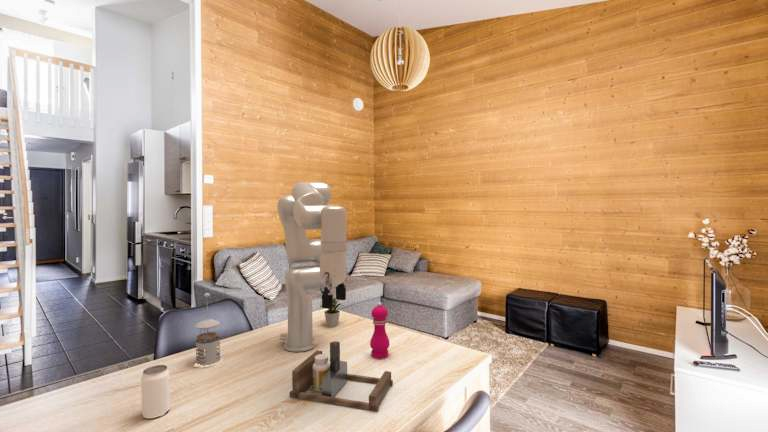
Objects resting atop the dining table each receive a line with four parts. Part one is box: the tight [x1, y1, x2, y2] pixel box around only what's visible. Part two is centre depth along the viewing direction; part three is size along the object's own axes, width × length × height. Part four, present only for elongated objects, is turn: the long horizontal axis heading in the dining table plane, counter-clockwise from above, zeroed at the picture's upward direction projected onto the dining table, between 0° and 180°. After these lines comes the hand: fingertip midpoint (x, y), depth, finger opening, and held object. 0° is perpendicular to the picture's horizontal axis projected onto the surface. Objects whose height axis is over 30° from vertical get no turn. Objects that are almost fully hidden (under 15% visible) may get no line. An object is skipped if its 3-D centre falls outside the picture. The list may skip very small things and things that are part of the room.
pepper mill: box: [369, 301, 390, 360], centre depth 138 cm, size 7×7×20 cm
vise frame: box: [288, 350, 394, 413], centre depth 112 cm, size 27×16×8 cm, turn 73°
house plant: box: [318, 291, 347, 328], centre depth 173 cm, size 14×14×16 cm
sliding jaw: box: [321, 340, 348, 397], centre depth 113 cm, size 3×12×14 cm, turn 163°
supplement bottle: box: [312, 353, 330, 393], centre depth 114 cm, size 5×5×10 cm
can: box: [140, 364, 171, 417], centre depth 101 cm, size 6×6×12 cm
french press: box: [194, 292, 222, 366], centre depth 134 cm, size 10×12×25 cm
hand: (334, 303), depth 112 cm, fingers open, 9 cm apart
